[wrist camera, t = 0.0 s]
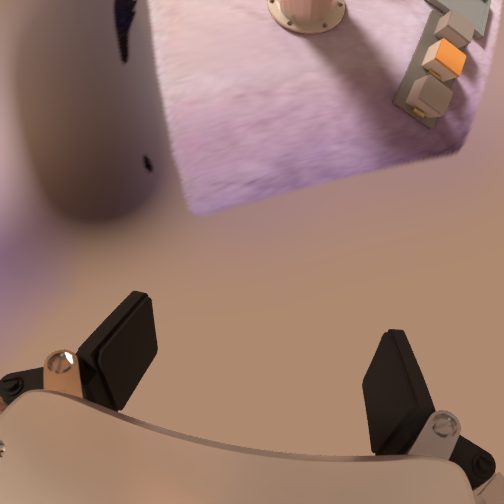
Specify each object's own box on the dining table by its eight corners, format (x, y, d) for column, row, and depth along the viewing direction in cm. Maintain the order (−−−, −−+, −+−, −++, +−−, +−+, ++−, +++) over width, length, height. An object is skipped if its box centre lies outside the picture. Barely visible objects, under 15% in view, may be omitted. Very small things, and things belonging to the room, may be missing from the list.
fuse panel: (391, 102, 37) (397, 101, 34) (430, 11, 28) (436, 6, 25) (430, 129, 37) (437, 129, 35) (465, 37, 28) (472, 33, 25)
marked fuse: (421, 65, 32) (436, 57, 27) (428, 47, 30) (443, 37, 25) (442, 81, 32) (459, 76, 27) (449, 63, 30) (466, 56, 25)
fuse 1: (405, 102, 35) (419, 97, 30) (414, 80, 34) (429, 73, 28) (427, 118, 35) (444, 116, 30) (436, 96, 34) (453, 92, 28)
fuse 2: (433, 34, 29) (448, 24, 23) (439, 18, 27) (453, 8, 22) (454, 50, 29) (470, 42, 24) (459, 34, 27) (475, 25, 22)
